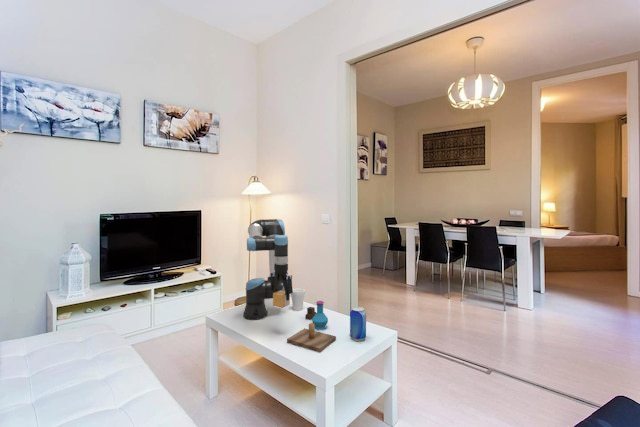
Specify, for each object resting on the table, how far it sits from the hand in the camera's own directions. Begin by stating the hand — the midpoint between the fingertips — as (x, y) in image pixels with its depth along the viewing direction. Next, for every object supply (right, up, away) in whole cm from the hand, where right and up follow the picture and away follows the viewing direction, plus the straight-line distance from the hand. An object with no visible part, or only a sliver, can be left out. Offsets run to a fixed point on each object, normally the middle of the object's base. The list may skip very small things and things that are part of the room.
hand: (281, 304), depth 172 cm
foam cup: (+6, -15, +39) cm, 42 cm away
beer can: (+42, -16, -7) cm, 45 cm away
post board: (+17, -16, -10) cm, 26 cm away
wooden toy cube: (0, 0, 0) cm, 0 cm away
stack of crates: (+17, -16, +23) cm, 33 cm away
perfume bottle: (+22, -16, +8) cm, 28 cm away
